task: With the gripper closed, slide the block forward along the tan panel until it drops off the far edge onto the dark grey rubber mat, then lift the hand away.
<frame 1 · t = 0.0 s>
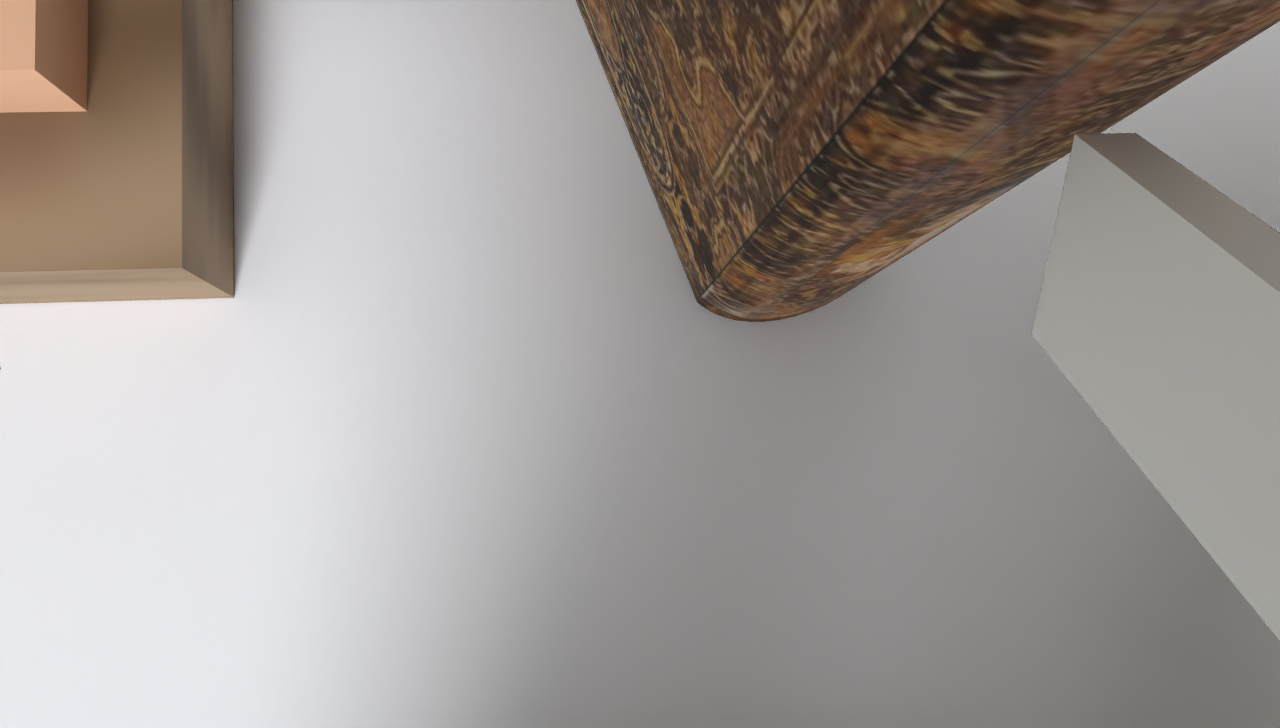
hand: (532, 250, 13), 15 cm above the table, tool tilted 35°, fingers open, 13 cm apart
book: (694, 28, 30), on the table
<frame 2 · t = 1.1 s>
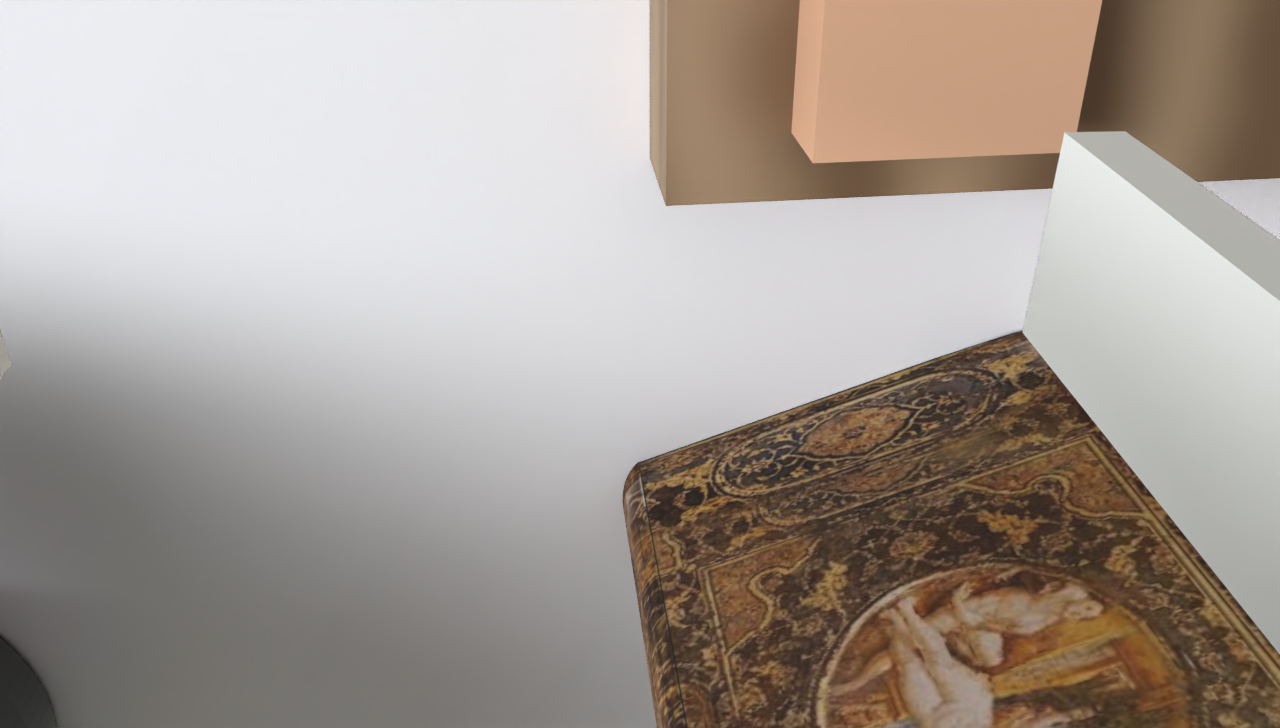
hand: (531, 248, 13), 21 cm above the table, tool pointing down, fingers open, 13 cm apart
book: (834, 453, 42), on the table
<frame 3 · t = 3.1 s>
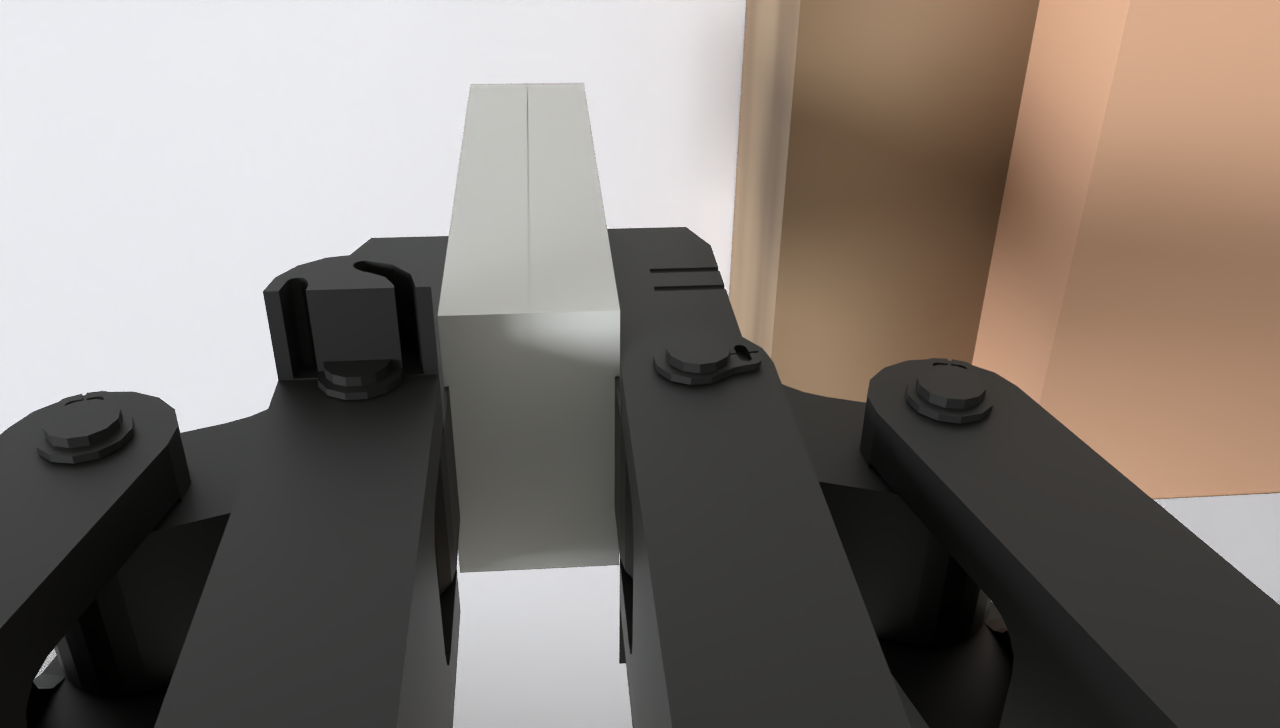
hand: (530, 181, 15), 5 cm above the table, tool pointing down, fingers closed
block: (1229, 139, 17), point 4 cm above the table, touching tan panel
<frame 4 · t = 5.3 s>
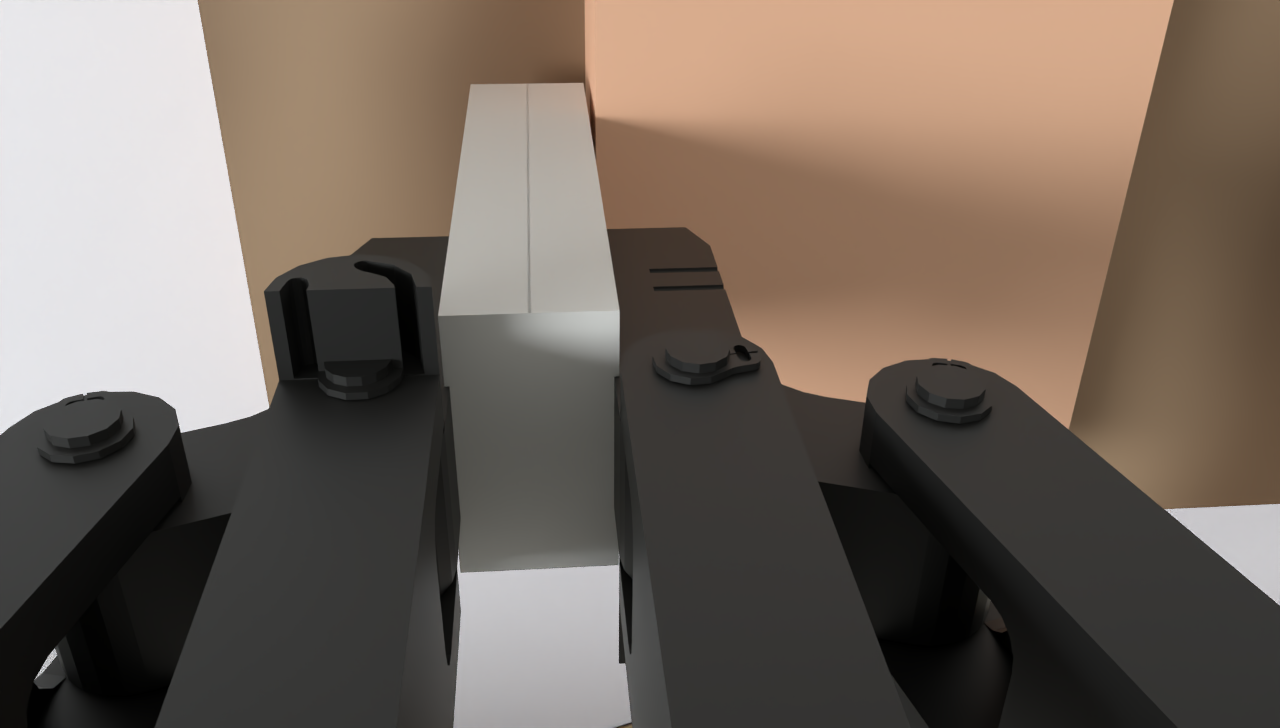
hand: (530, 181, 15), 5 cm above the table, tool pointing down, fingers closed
tan panel: (896, 79, 20), on the table
block: (820, 154, 17), point 4 cm above the table, touching tan panel
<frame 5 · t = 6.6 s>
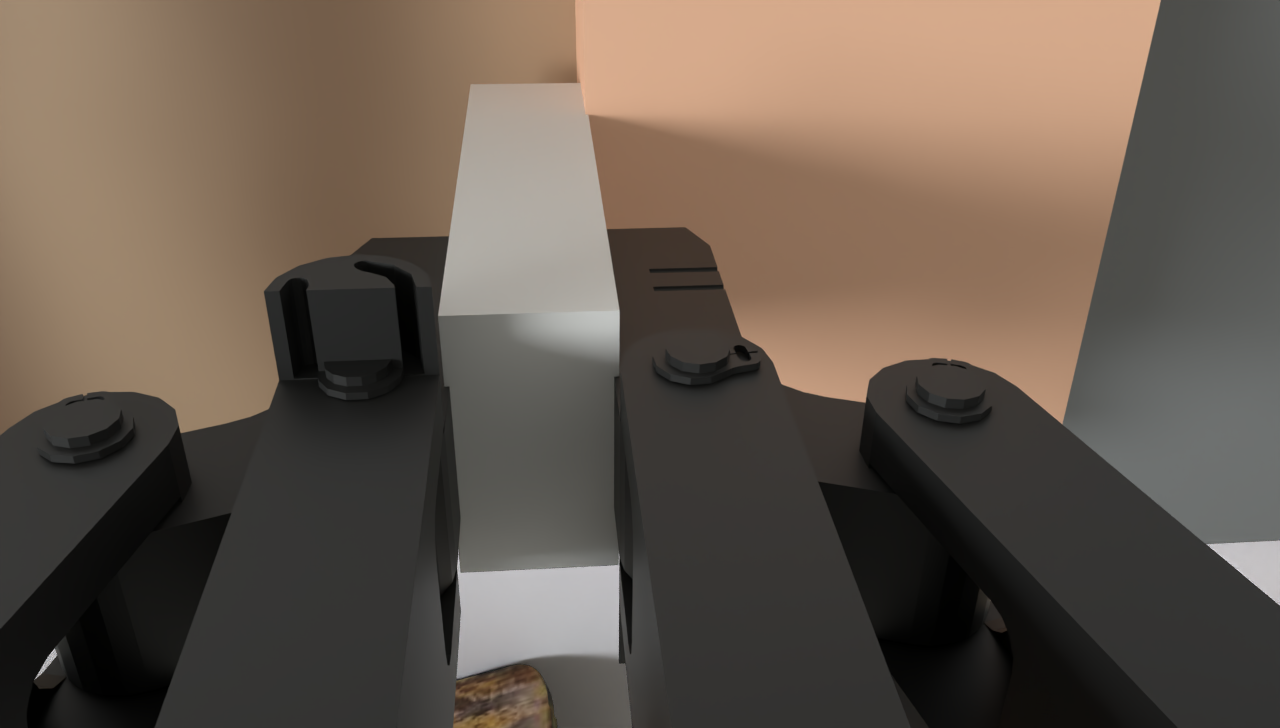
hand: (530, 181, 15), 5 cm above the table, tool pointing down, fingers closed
tan panel: (367, 83, 20), on the table
block: (812, 145, 17), point 4 cm above the table, touching tan panel, gripper
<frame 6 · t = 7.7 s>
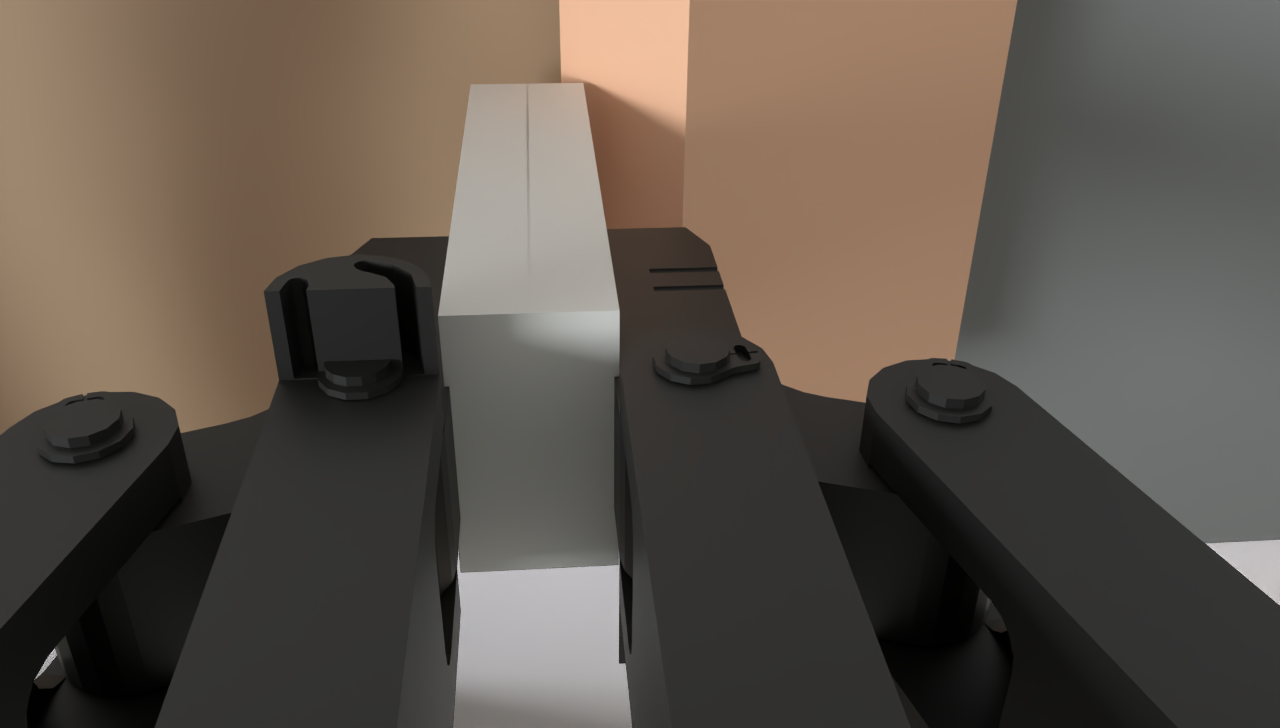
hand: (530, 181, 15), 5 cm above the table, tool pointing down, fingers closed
mat: (1106, 73, 21), on the table
block: (737, 119, 18), point 3 cm above the table, tilted 36°, touching gripper, mat
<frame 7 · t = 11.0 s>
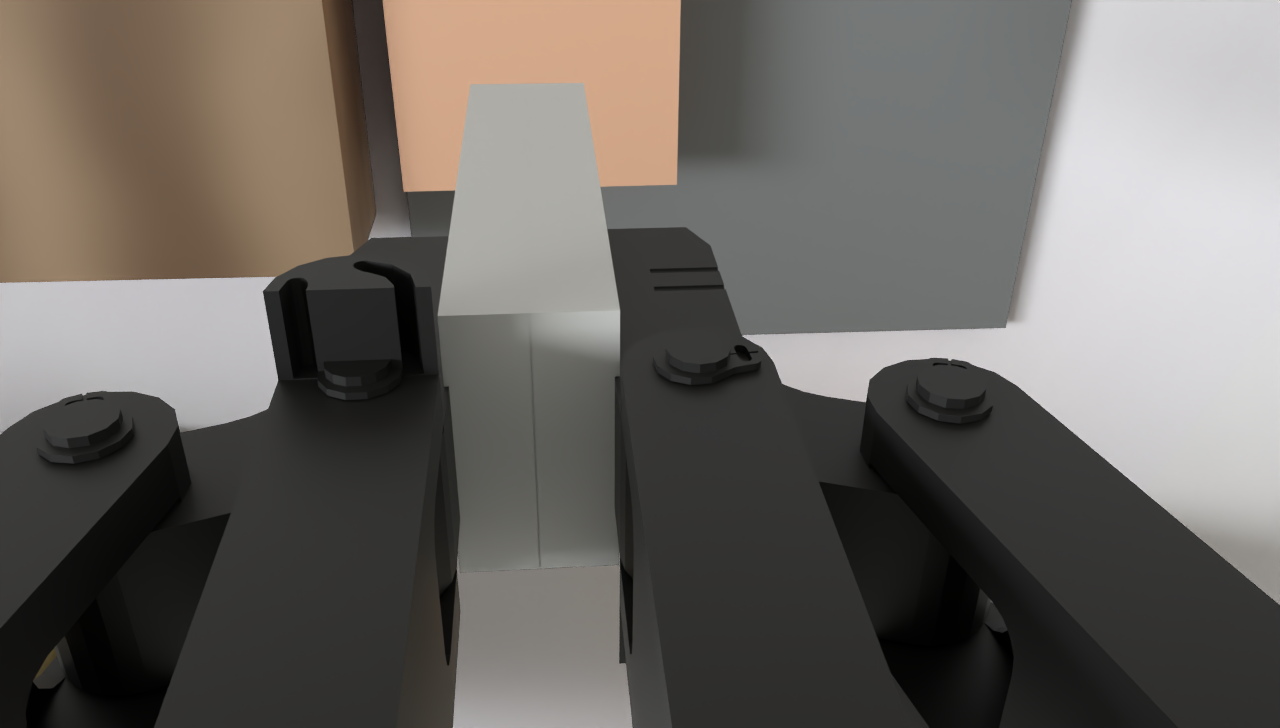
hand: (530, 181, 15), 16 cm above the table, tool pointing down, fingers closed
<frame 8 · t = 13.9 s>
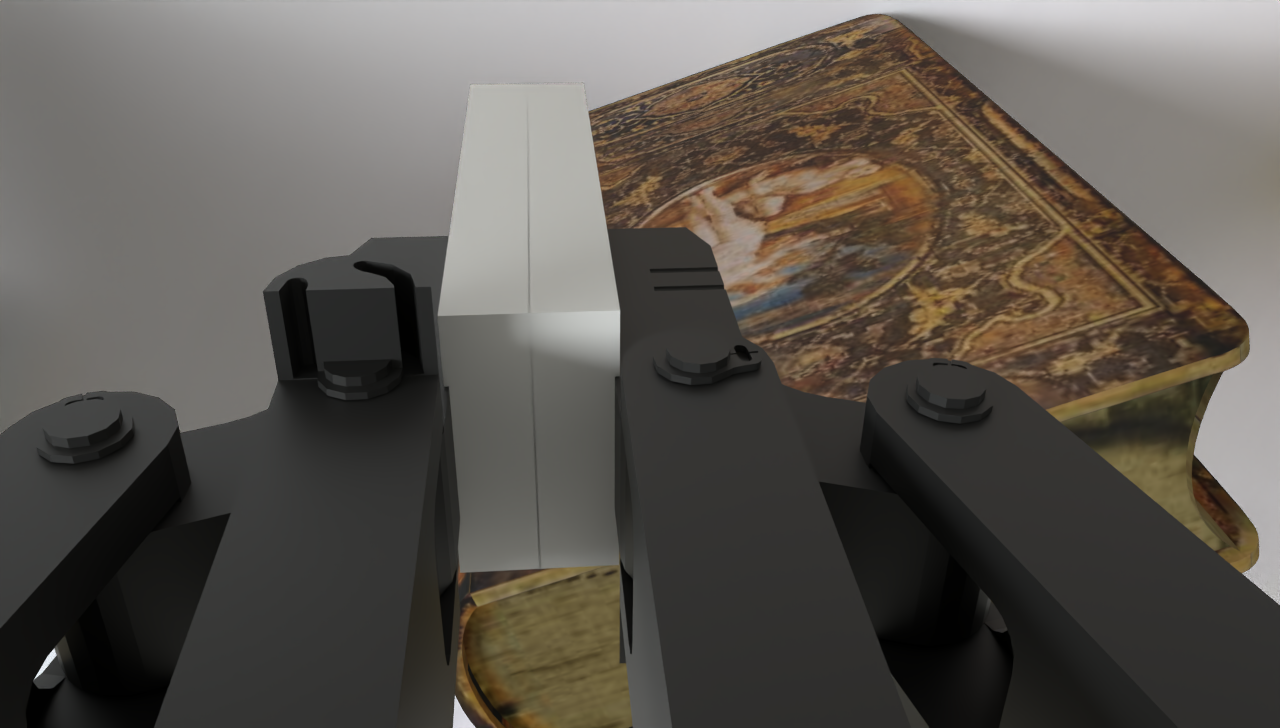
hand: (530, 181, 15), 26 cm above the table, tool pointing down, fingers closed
book: (690, 147, 43), on the table
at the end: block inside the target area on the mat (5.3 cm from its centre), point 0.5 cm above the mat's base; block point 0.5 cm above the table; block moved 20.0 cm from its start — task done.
